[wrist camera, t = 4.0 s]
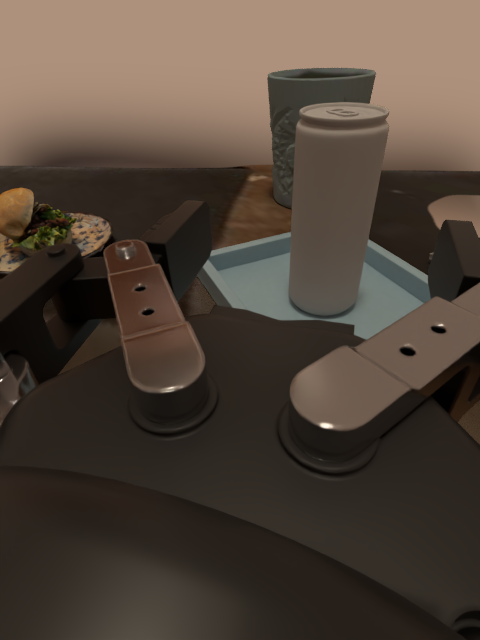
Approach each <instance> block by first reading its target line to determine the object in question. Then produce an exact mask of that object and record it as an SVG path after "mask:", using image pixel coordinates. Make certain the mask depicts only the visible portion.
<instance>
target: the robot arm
mask: <svg viewBox="0 0 480 640" xmlns="http://www.w3.org/2000/svg"><path fill="white" fill-rule="evenodd" d="M211 250H212V235H211V224H210V213H209V206H208V204H207V202H202V201H189V200H187V201H185V202H184V203H183V204H182V205H181V206H180V207H179V208H178V209H177V210H176V211H175V212H172V213H170V214H168V215H166V216H164V217H162V218H161V219H160V220H158V221H157V222H156V223H155V225H153V226H152V227H151V228H150V230H148V231H147V232H145V233H144V234H143V235H142V236H141V237H140V238H139V239H138V240H123V241H119V242H116V243H113V244H111V245H109V246H108V247H106V248H105V250H104V252H103V254H104V257H92V258H82V255H81V252H80V249H79V247H78V246H77V245H74V244H69V243H63V244H56V245H52V246H48V247H46V248H43V249H42V250H40V251H38V252H37V253H36V254H34V255H33V256H32V257H30V258H29V259H28V260H26V261H25V262H24V263H22V264H21V265H20V266H19V267H17V268H16V269H15V270H13V271H12V272H11V273H9V274H8V275H7V276H5V277H4V278H3V279H1V280H0V640H480V445H479V444H478V443H477V442H476V441H475V440H474V439H473V438H472V437H471V436H470V435H469V434H468V433H467V432H466V431H465V430H464V429H463V428H462V427H461V426H460V425H459V424H458V423H457V422H458V421H459V420H460V419H461V417H462V416H463V415H464V414H465V413H466V412H467V411H468V410H469V409H470V408H472V407H473V406H474V405H475V404H476V403H477V402H478V401H479V400H480V238H478V235H477V233H476V231H475V228H474V226H473V224H472V222H470V221H457V220H445V221H444V222H443V224H442V227H441V230H440V233H439V237H438V240H437V243H436V246H435V250H434V253H433V256H432V260H431V263H430V267H429V272H428V286H429V292H430V297H431V299H430V300H429V301H427V302H426V303H424V304H422V305H421V306H419V307H418V308H416V309H414V310H413V311H411V312H410V313H408V314H407V315H405V316H403V317H402V318H400V319H399V320H397V321H396V322H394V323H392V324H391V325H389V326H388V327H386V328H384V329H383V330H381V331H380V332H378V333H377V334H375V335H373V336H372V337H370V338H369V339H367V340H366V339H364V338H361V337H359V336H356V335H354V328H355V325H352V324H345V323H338V322H331V321H324V320H277V319H274V318H271V317H268V316H265V315H261V314H258V313H255V312H252V311H249V310H245V309H238V308H231V307H224V306H217V305H214V307H213V308H212V310H211V312H210V314H199V315H193V316H189V317H185V318H184V316H183V314H182V312H181V310H180V307H179V305H178V303H177V302H178V301H179V300H180V298H181V297H182V295H183V294H184V293H185V291H186V290H187V288H188V287H189V285H190V284H191V283H192V281H193V280H194V278H195V277H196V276H197V274H198V273H199V271H200V270H201V269H202V267H203V266H204V264H205V263H206V261H207V260H208V259H209V257H210V255H211ZM50 298H51V299H52V301H53V304H54V306H55V309H56V311H57V312H56V313H55V314H54V315H53V316H52V317H51V318H50V319H49V320H48V321H47V322H46V323H45V320H44V318H43V307H44V305H45V303H46V302H47V301H48V300H49V299H50ZM107 318H116V319H117V323H118V328H119V332H120V337H121V338H120V341H121V346H120V347H118V348H116V349H114V350H112V351H109V352H107V353H105V354H103V355H101V356H99V357H96V358H94V359H92V360H90V361H88V362H86V363H83V364H81V365H79V366H77V367H75V368H73V369H70V370H68V371H66V372H64V373H62V374H60V375H58V374H59V372H60V371H61V370H62V369H63V367H64V366H65V365H66V364H67V363H68V361H69V360H70V359H71V358H72V356H73V355H74V354H75V353H76V351H77V350H78V349H79V348H80V347H81V345H82V344H83V343H84V342H85V340H86V339H87V338H88V337H89V335H90V334H91V333H92V332H93V330H94V329H95V328H96V327H97V326H98V324H99V323H100V322H101V319H107ZM57 375H58V376H57Z"/></svg>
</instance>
